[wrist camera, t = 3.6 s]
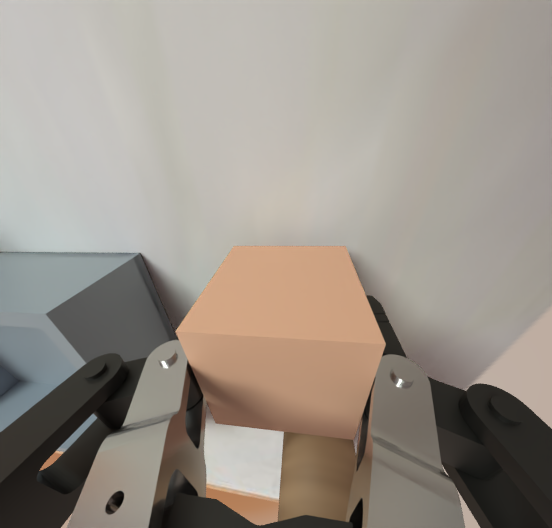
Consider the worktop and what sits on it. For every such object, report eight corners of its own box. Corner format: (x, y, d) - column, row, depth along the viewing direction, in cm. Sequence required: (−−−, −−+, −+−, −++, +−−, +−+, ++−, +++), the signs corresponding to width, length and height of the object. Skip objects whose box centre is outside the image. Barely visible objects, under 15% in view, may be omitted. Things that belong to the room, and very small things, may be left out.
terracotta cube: (234, 246, 9) (175, 331, 5) (345, 246, 9) (385, 344, 4) (247, 323, 12) (215, 423, 8) (334, 327, 11) (353, 440, 7)
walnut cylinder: (285, 378, 16) (275, 513, 10) (349, 384, 16) (378, 531, 10) (287, 409, 19) (279, 533, 13) (342, 415, 18) (361, 549, 12)
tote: (-121, 251, 14) (-303, 295, 10) (140, 253, 12) (45, 314, 7) (24, 379, 22) (-43, 435, 18) (202, 397, 19) (173, 468, 15)
